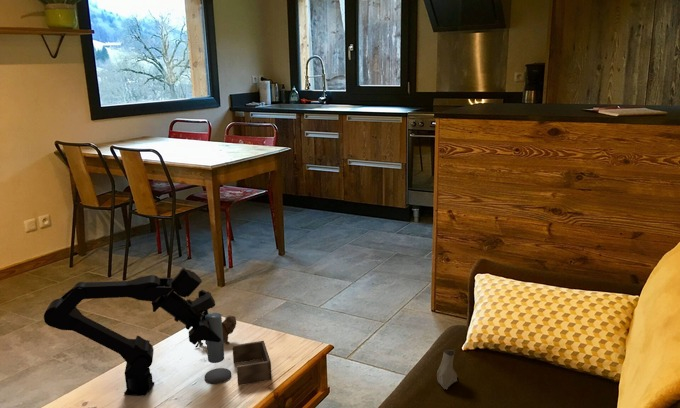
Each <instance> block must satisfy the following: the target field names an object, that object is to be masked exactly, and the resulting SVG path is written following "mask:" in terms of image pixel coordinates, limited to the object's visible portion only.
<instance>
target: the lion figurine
mask: <svg viewBox="0 0 680 408" xmlns="http://www.w3.org/2000/svg"><path fill="white" fill-rule="evenodd" d="M236 317H237V316H234V315H228V316H225V319H224V320H222V331H223V342H225V345H230V341H229V335H231V334H233V332H234V331H235V329H236V325H237V320H236ZM202 341H203V340H199V341H198V342H197V343H196V344H195V345H194V347H195V348H198V347H199V346H203V344H205V345H206V346H207V341H205V340H204V342H202Z"/></svg>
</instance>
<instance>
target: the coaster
mask: <svg viewBox="0 0 680 408" xmlns="http://www.w3.org/2000/svg"><path fill="white" fill-rule="evenodd" d="M231 378H232V371H231V370H230V369H228V368H227V367H226V368H224V367H218V368H213V369H211V370H210V369H209V370H208V371H207V372H206V373H205V375H204V380H205V382H206V383H208V384H211V385H219V384H223V383H226V382H228V381H229V380H230V379H231Z"/></svg>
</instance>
